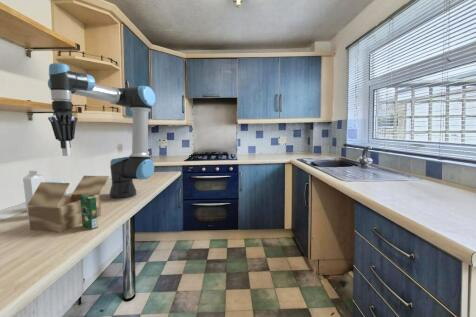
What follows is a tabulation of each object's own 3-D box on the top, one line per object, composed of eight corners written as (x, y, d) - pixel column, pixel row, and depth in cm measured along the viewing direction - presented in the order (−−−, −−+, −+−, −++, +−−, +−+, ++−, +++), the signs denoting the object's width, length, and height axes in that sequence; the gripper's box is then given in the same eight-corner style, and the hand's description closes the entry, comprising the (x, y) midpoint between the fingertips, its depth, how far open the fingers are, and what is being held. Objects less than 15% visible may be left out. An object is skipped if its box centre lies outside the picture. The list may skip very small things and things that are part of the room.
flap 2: (72, 192, 138) (73, 193, 138) (98, 193, 134) (99, 194, 134) (83, 175, 144) (84, 176, 145) (109, 176, 140) (109, 176, 141)
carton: (73, 213, 139) (71, 193, 138) (101, 215, 135) (99, 194, 134) (30, 229, 118) (27, 206, 117) (61, 232, 114) (58, 207, 112)
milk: (35, 219, 132) (29, 172, 129) (27, 217, 135) (21, 171, 132) (48, 215, 138) (43, 170, 135) (40, 214, 140) (35, 169, 137)
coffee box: (99, 227, 118) (96, 196, 116) (92, 229, 115) (89, 198, 114) (89, 224, 123) (86, 194, 121) (82, 226, 120) (79, 195, 119)
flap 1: (41, 182, 122) (40, 182, 122) (70, 183, 118) (69, 183, 118) (28, 205, 117) (27, 205, 116) (57, 207, 113) (57, 206, 112)
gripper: (67, 102, 130) (71, 154, 133) (41, 100, 118) (46, 157, 120) (81, 102, 128) (85, 154, 131) (55, 99, 116) (60, 157, 118)
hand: (66, 155), depth 126 cm, fingers closed
